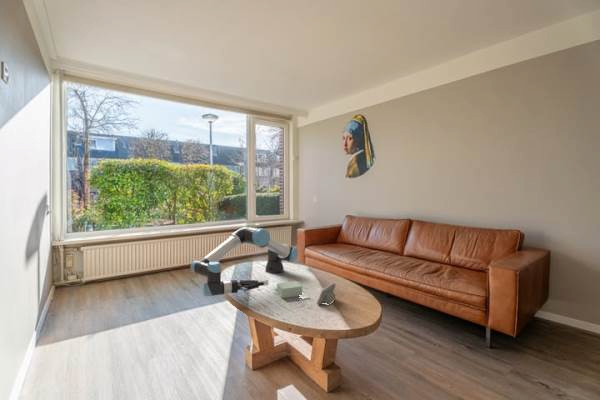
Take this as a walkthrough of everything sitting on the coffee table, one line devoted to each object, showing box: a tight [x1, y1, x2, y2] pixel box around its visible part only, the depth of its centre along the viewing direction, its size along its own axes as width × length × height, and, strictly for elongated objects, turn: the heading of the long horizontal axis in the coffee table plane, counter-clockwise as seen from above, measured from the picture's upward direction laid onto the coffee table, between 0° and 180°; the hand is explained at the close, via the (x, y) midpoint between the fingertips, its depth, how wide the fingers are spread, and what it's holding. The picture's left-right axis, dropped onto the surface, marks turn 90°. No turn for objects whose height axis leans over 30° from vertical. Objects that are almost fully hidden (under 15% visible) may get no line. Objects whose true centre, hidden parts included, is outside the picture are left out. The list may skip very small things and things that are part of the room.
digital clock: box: [316, 282, 336, 305], centre depth 177 cm, size 16×9×11 cm, turn 136°
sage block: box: [276, 280, 303, 299], centre depth 188 cm, size 6×10×14 cm
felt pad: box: [274, 288, 304, 303], centre depth 189 cm, size 16×22×1 cm
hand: (268, 282), depth 181 cm, fingers closed
